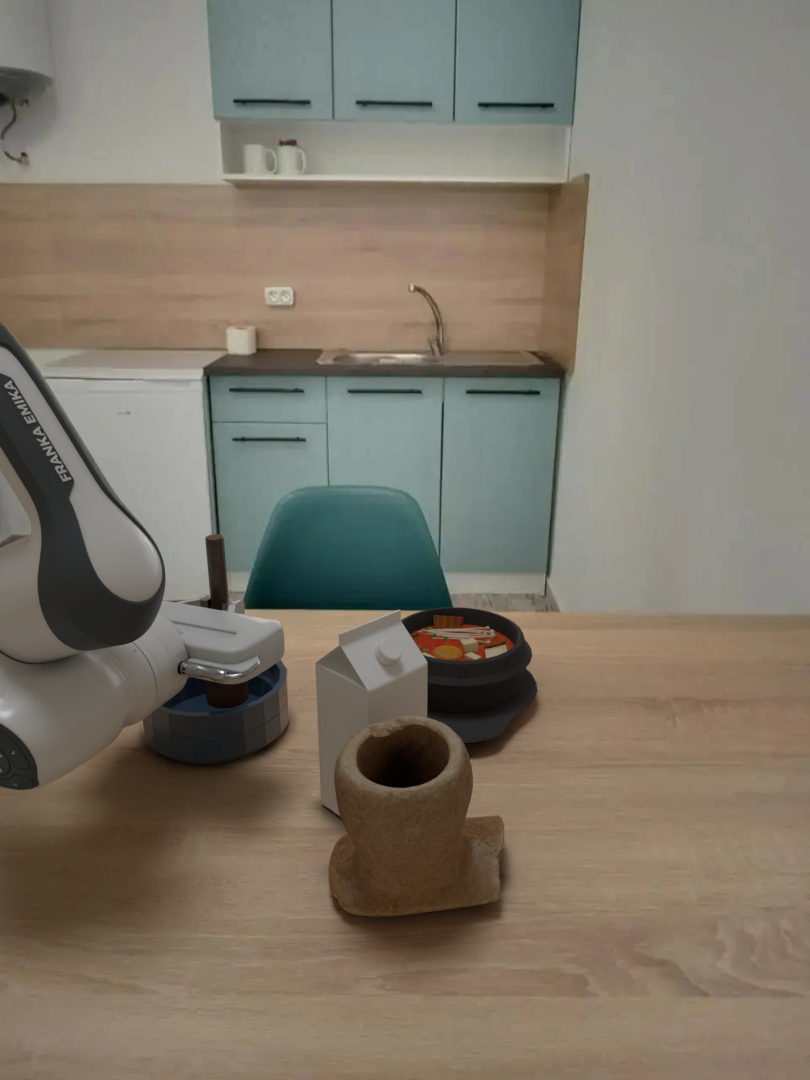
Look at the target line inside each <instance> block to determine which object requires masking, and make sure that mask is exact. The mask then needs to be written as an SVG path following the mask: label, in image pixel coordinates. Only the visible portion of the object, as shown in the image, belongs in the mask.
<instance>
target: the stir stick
mask: <svg viewBox="0 0 810 1080" xmlns="http://www.w3.org/2000/svg"><path fill="white" fill-rule="evenodd" d="M204 540H205V552H206V553H205V554H206V565H207V575H208V586H209V595H210V600H211V609H216V610H223V609H222V603H223V602H225V601H227V600H228V599H230V597H229V586H228V574H227V573H228V572H227V571H228V570H227V560H226V547H225V536H224V535H223V534H217V533H216V534H215V533H214V534H209V535H207V536H205V538H204ZM205 690H206V701H207V703H208V704H209V705H210V706H212V707H215V708H221V709H226V708H233V707H237V706H239V705H241V704H243V703H245V702H246V701H247V700H248V697H249V691H248V681H245V682H242V683H238V684H223V683H218V682H213V681H208V680H205Z"/></svg>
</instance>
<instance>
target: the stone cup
mask: <svg viewBox="0 0 810 1080" xmlns="http://www.w3.org/2000/svg"><path fill="white" fill-rule="evenodd" d="M469 755H470V754H469V753H468V750H467V746H466V745H465V743H463V741H462V739H461V738H460V737H459V736H458V735H457V734H456V733H455V732H454V731H453V730H452V729H451V728H450V727H448V726H447V725H445V724H444V723H442V722H439V721H436V720H434V719H430V718H427V717H422V716H401V717H397V718H394V719H391V720H388V721H384V722H380V723H375V724H372V725H369V726H367V727H365V728H363V729H362V730H360V731H359V732H357V733H356V734H355V735H354V736H353V737H351V738H350V740H349V741H348V742H347V743H346V744H345V745H344V746H343V748H342V749H341V751H340V753H339V755H338V757H337V761H336V765H335V771H334V783H335V792H336V800H337V805H338V810H339V813H340V816H341V817H340V816H339V817H340V819H341V821H342V823H343V826H344V828H345V830H346V832H347V833H345V834H344V835H342V836H341V837H340V838H338V840H337V841H336V842H335V844H334V846H333V848H332V851H331V855H330V858H329V863H328V883H329V884H328V885H329V888H330V892H331V894H332V896H333V897H334V898H336V899H337V900H338V903H339V906H340V907H341V908H342V909H343V911H345V912H347V913H350V914H352V915H355V916H362V917H397V916H407V915H417V914H424V913H430V912H439V911H448V910H453V909H460V908H461V909H462V908H467V907H473V906H474V907H475V906H481V905H488V904H492V903H496V902H498V901H500V900H501V890H502V889H501V885H502V884H501V877H500V873H501V872H500V871H501V868H500V863H501V859H502V856H503V852H504V848H503V846H504V844H505V841H506V840H505V824H504V821H503V818H502V817H501V816H500V815H486V816H484V815H483V816H473V817H467V815H468V812H469V811H468V810H469V808H470V807H469V806H470V803H471V800H472V794H473V787H474V774H473V767H472V764H471V759H470V756H469Z"/></svg>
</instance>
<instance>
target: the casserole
mask: <svg viewBox="0 0 810 1080" xmlns="http://www.w3.org/2000/svg"><path fill="white" fill-rule="evenodd" d="M401 622H402V623H403V625H404V626H405V628H406V630H407V631H408V633H409V634H410V636H411V637H412V639H413V640H414V642H415V644H416V645H417V647H418V648H419V650H420V651H421V653H422V654H423V656H424V657H425V659H426V661H427V667H428V673H427V718H430V719H434V720H436V721H439V722H442V723H444V724H445V725H447V726H448V727H450V728H451V729H452V730H453V731H454V732H455V733H456V734H457V735H458V736H459V737H460V738H461V739H462V741H463V743H464V744H466V743H467V744H468V743H478V742H479V743H480V742H484V741H489V740H492V739H494V738H496V737H498V736H501V734H502V733H503V732H504V731H505V730H506V729H507V728H508V727H509V725H510V724H511V722H512V721H513V719H515V718H516V717H517V716H519V715H520V714H521V713H523V712H524V711H525V710H527V708H529V707H530V706H531V705H532V704H533V702H534V701H535V699H536V697H537V693H538V684H537V681H536V679H535V677H534V675H533V673H531V672H530V671H529V670H528V669H527V667H528V666H529V665H530V664H531V661H532V658H533V651H532V650H533V649H532V648H531V646H530V644H529V642H528V641H527V640H526V638H525V635H524V632H523V631H522V629H521V627H520V626H519V625H518V624H517V623H515V622H514V621H513V620H511V619H510V618H508V617H506V616H504V615H502V614H499V613H495V612H492V611H489V610H484V609H478V608H473V607H472V608H471V607H459V606H457V607H455V606H452V607H451V606H450V607H436V608H430V609H429V608H428V609H424V610H420V611H418V612H415V613H412V614H409V615H408V616H406V617H404V618H401Z"/></svg>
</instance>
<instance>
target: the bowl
mask: <svg viewBox="0 0 810 1080" xmlns="http://www.w3.org/2000/svg"><path fill="white" fill-rule="evenodd" d="M288 672H289V671H288V668H287V667H286V665H285V663H284V662H283V660H282V659H281V660H279V661H278V662H277V663H275V664H274V665H273V666H271V667H270V668H268V669H267V670H265V671H264V672H262V673H260V674H259V675H257V676H255V677H254V678H252V679H250V680H248V691H249V697H248V700H247V701H246V702H245V703H243V704H241V705H239V706H237V707H233V708H226V709H221V708H215V707H212V706H210V705H209V704H208V703H207V701H206V690H205V680H203V679H199V678H194V677H189V676H188V679H187V682H186V684H185V686H184V687H183V688H182V690H181V691H180V692H179V693H177V694H176V695H175V696H173V697H172V698H171V699H169V700H168V701H167V702H166V703H164V704H163V705H162V706H160V707H159V708H158V709H156V710H155V711H154V712H152V713H151V714H150V715H148V716H147V717H146V718H145V719H143V720H142V721H140V723H141V728H142V734H143V739H144V741H145V743H146V744H147V745H148V746H149V747H151V748H152V750H154V751H155V752H156V753H158V754H161V755H163V756H164V757H167V758H169V759H172V760H174V761H177V762H181V763H187V764H196V765H197V764H198V765H209V764H221V763H227V762H231V761H236V760H240V759H242V758H246V757H247V756H251V755H252V754H255V753H258V752H260V751H261V750H262V749H265V748H266V747H267V746H269V745H270V744H271V743H273V742H274V740H276V739H277V738H278V737H279V736H281V734H282V733H283V731H284V730H285V729H286V727H287V725H288V724H289V722H290V694H289V693H290V692H289V676H288V674H289V673H288Z"/></svg>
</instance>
